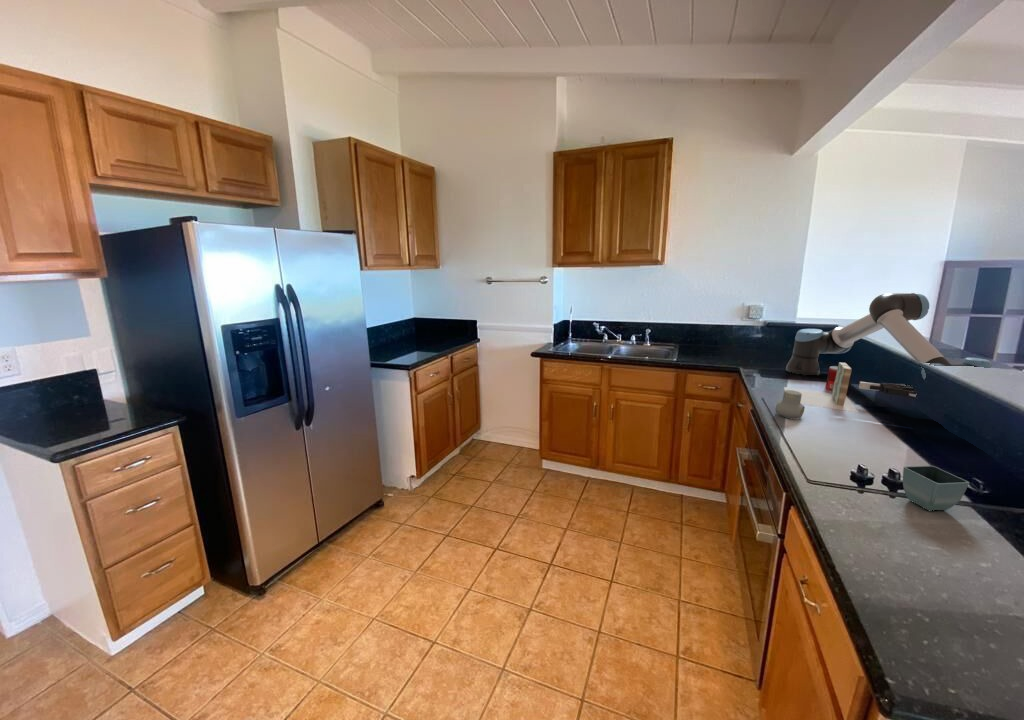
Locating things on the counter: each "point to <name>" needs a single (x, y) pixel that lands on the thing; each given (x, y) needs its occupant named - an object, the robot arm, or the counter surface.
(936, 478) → the flower pot
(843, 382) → the tile
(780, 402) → the air freshener
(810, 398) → the mat
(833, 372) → the canned food
